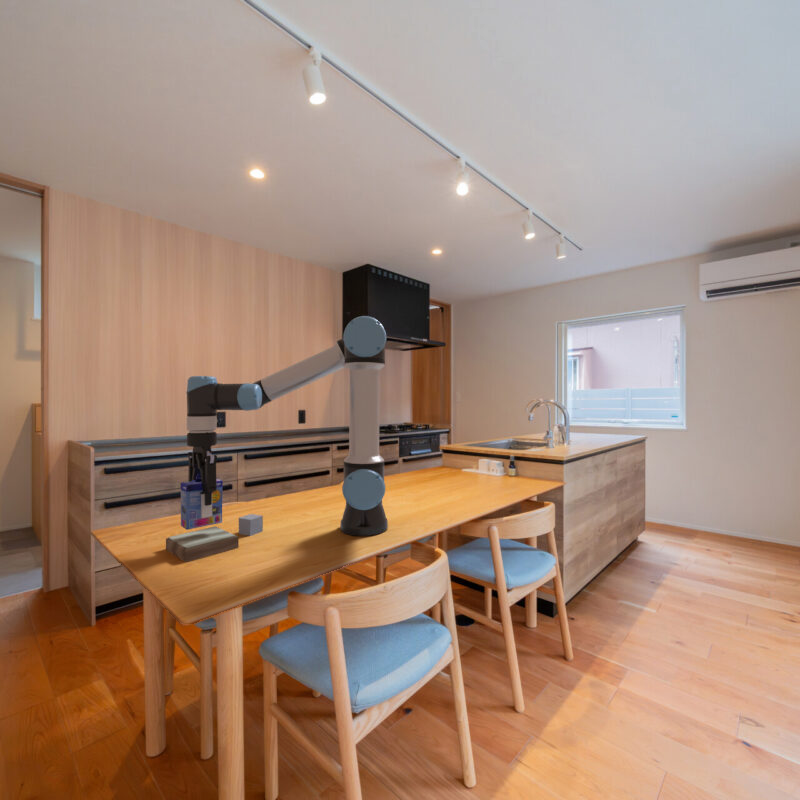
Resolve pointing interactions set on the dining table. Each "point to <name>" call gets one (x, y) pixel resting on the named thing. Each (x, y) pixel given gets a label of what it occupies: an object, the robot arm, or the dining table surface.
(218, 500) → the ink cartridge box
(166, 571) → the dining table surface
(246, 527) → the slate block
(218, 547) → the podium
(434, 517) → the dining table surface
